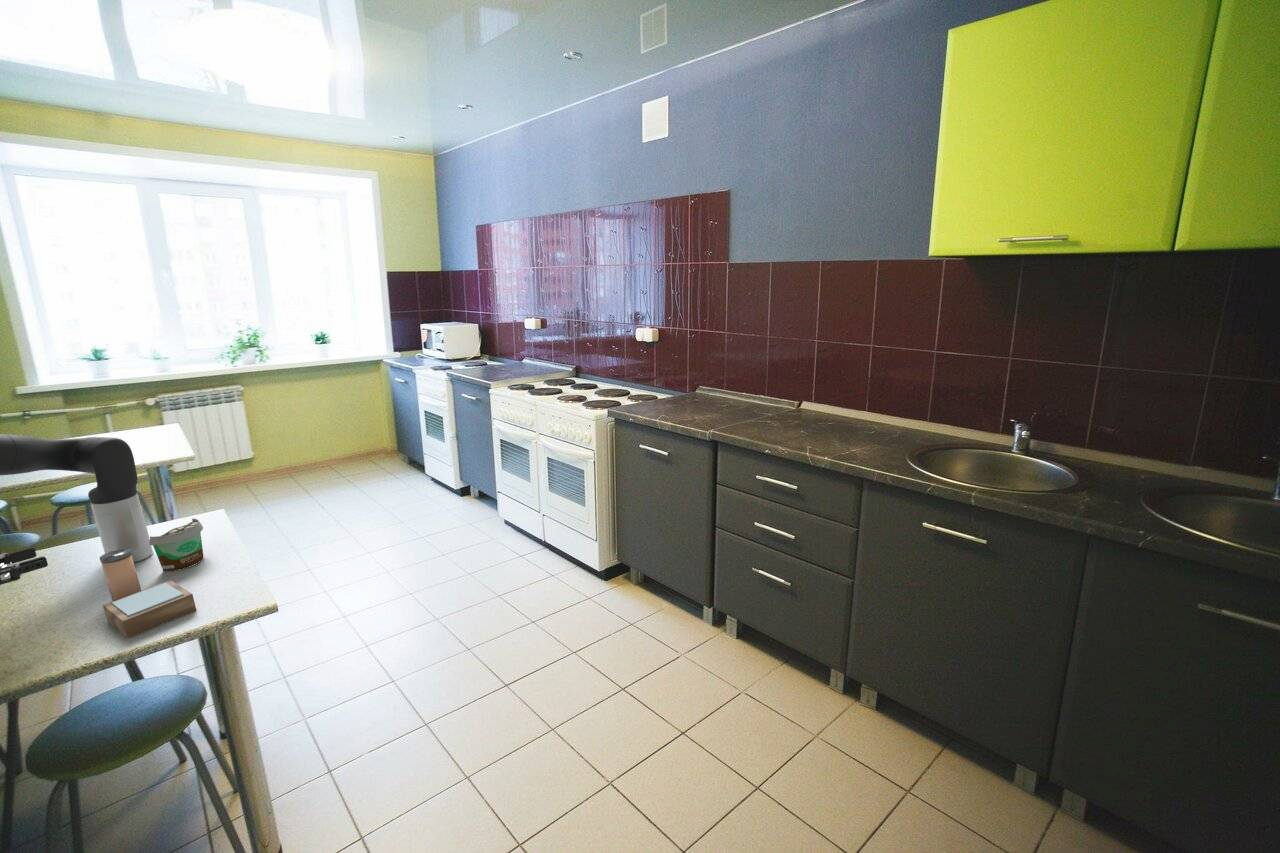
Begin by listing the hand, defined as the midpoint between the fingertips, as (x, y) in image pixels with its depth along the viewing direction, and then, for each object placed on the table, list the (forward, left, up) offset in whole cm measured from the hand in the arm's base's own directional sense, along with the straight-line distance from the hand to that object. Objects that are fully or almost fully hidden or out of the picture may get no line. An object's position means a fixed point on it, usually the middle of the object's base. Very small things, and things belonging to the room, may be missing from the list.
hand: (40, 556), depth 121 cm
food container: (-7, +26, -16) cm, 31 cm away
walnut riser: (+15, +11, -16) cm, 24 cm away
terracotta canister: (0, +11, -16) cm, 19 cm away
